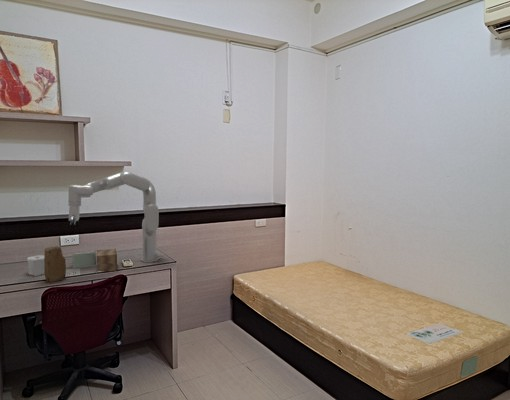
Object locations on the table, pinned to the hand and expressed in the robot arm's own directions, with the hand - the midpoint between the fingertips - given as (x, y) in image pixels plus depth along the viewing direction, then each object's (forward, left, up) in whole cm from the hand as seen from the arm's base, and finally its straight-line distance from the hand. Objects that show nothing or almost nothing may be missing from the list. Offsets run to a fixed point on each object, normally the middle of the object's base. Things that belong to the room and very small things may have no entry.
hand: (74, 229), depth 248 cm
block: (+10, +25, -26) cm, 37 cm away
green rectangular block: (-6, +5, -24) cm, 25 cm away
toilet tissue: (+21, +9, -26) cm, 34 cm away
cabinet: (-19, +11, -25) cm, 34 cm away
